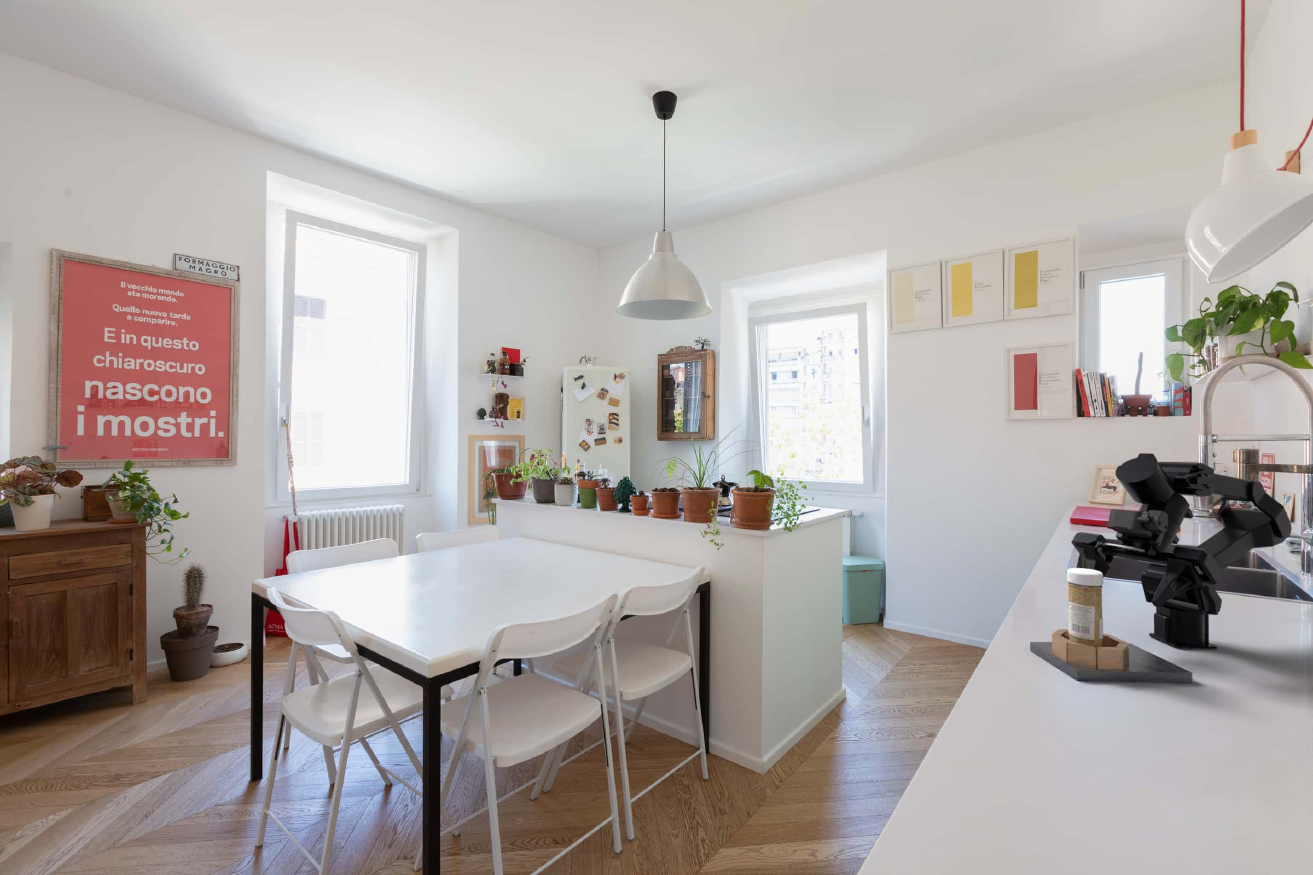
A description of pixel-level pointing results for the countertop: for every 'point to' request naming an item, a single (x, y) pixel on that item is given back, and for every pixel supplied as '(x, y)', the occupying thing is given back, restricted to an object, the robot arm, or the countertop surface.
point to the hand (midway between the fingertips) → (1120, 597)
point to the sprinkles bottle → (1085, 606)
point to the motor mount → (1107, 661)
